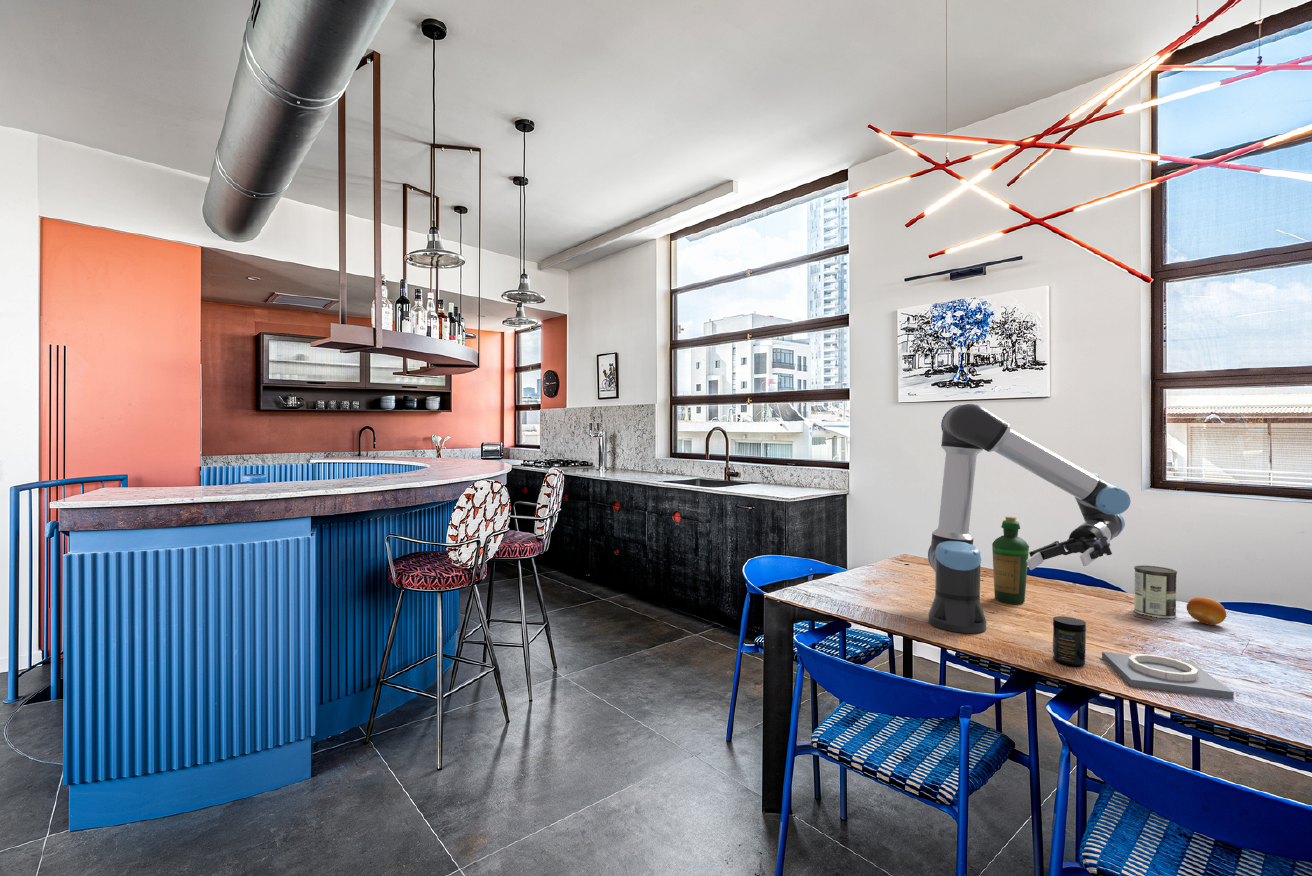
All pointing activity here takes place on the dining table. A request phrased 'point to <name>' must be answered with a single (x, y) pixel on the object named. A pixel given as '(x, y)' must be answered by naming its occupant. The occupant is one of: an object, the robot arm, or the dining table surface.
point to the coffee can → (1155, 591)
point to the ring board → (1166, 674)
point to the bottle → (1010, 564)
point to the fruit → (1206, 610)
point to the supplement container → (1069, 641)
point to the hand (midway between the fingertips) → (1055, 563)
